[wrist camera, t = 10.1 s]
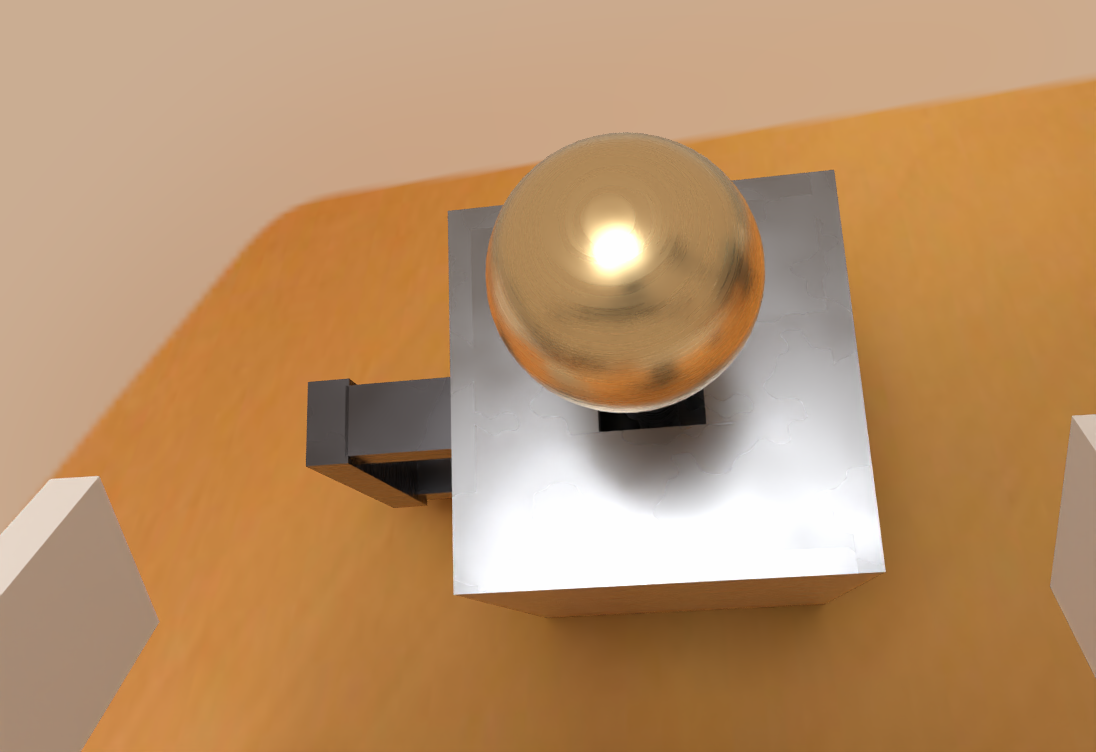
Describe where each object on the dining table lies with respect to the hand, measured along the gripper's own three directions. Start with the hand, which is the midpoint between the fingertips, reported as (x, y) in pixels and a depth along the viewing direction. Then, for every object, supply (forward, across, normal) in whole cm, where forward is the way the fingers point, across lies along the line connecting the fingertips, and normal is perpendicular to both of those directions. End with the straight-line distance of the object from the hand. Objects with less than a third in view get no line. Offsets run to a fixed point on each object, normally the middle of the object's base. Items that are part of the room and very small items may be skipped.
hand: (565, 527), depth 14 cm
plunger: (+20, +1, -12) cm, 23 cm away
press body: (+21, -2, -14) cm, 25 cm away
